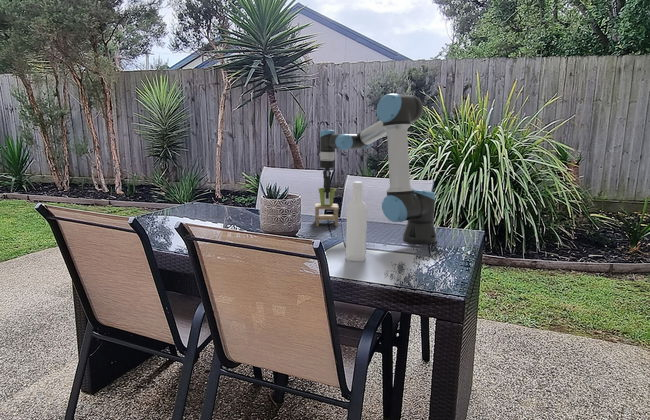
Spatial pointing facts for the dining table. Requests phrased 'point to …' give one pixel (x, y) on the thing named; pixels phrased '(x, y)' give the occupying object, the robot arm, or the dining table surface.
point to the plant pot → (322, 196)
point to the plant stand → (326, 217)
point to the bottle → (356, 226)
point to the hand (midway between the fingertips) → (326, 203)
